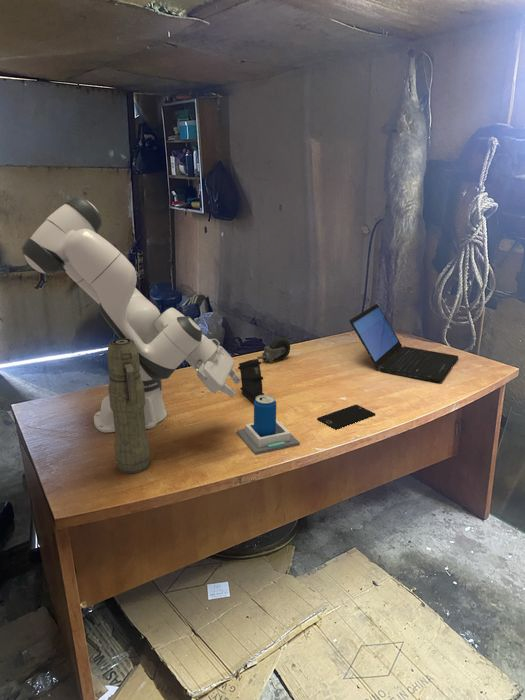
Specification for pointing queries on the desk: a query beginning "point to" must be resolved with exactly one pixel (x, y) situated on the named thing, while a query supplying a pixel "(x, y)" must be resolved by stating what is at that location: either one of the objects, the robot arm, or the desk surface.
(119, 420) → the thermos
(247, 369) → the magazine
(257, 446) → the charging dock
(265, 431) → the beverage can
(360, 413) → the cell phone
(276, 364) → the desk surface
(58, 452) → the desk surface
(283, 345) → the caster wheel
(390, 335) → the laptop
